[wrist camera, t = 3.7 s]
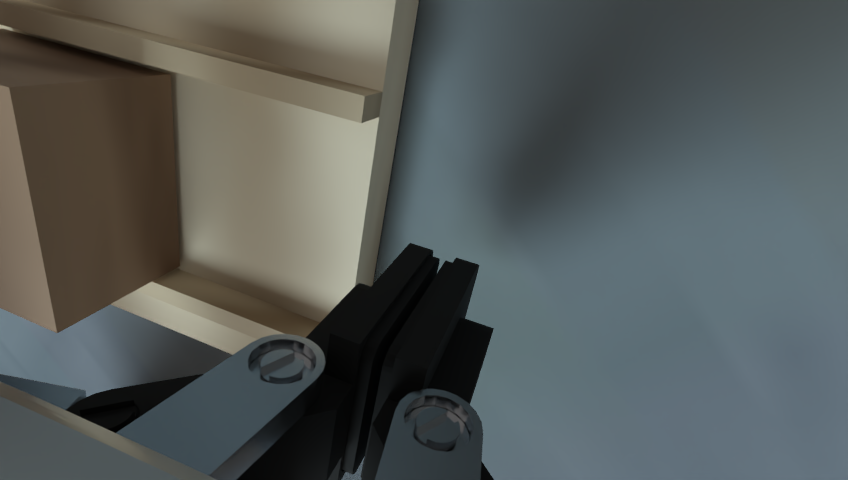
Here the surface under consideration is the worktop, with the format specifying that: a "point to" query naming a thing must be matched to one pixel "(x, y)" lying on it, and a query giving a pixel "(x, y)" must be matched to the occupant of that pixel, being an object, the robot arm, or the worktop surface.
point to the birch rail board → (258, 147)
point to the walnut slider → (81, 180)
